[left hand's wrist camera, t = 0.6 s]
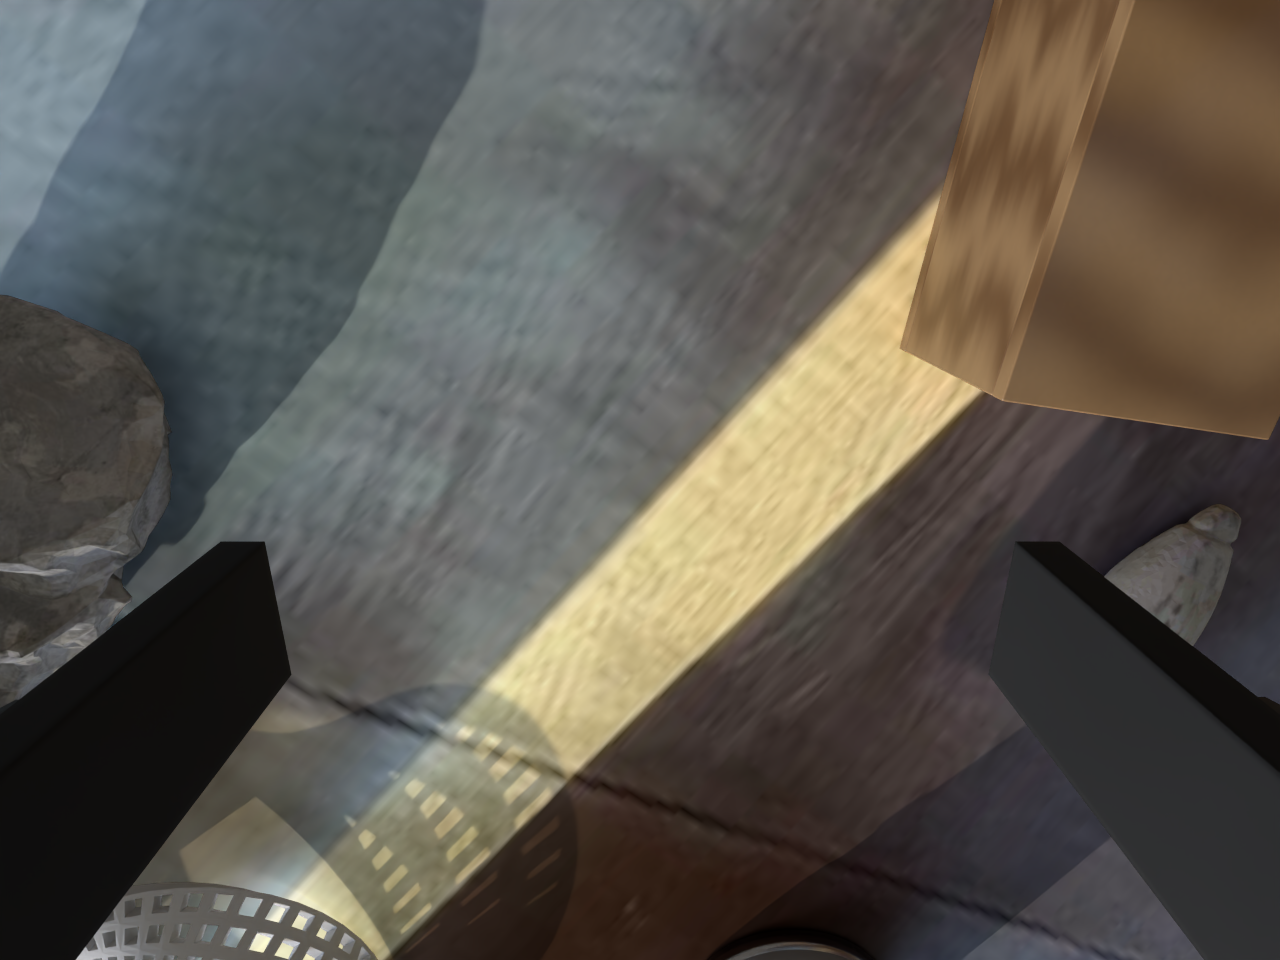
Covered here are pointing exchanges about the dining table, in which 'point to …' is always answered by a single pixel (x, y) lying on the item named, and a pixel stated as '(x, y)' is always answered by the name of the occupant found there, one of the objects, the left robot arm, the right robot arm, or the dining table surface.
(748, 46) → the dining table surface
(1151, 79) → the cabinet
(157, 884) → the decorative object
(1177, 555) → the decorative stone
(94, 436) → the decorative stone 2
